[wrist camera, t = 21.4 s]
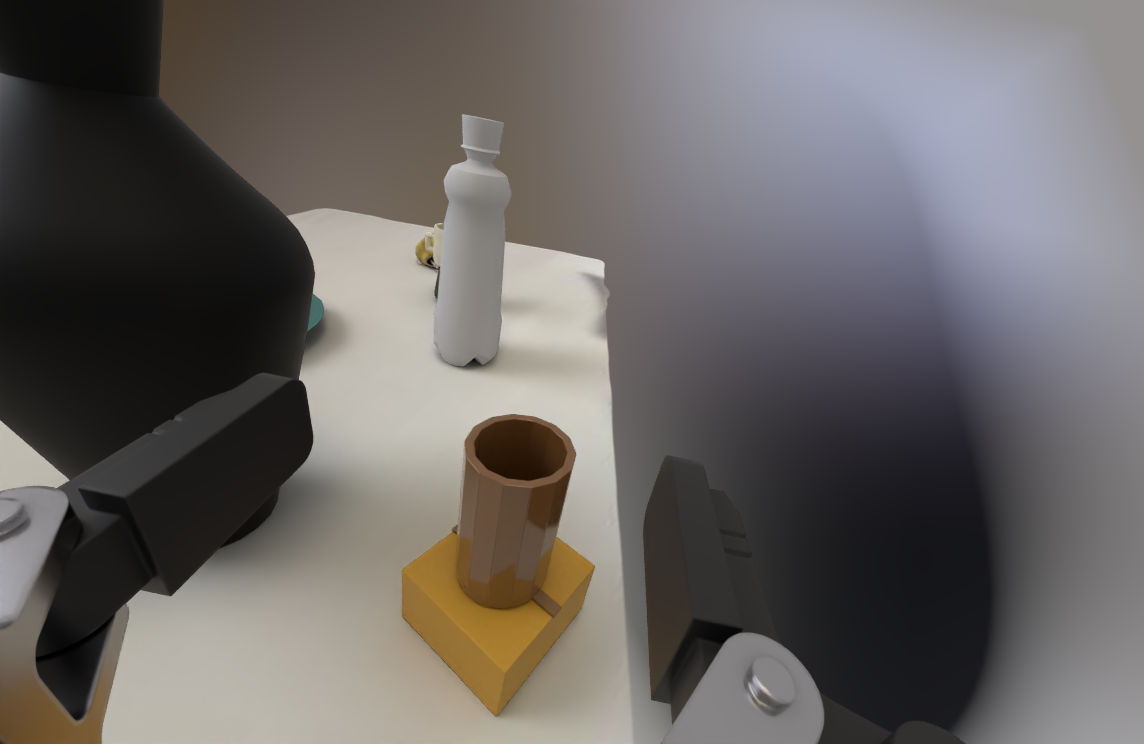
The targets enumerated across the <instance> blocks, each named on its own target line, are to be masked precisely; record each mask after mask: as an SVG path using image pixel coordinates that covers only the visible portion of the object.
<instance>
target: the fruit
mask: <svg viewBox="0 0 1144 744" xmlns="http://www.w3.org/2000/svg"><path fill="white" fill-rule="evenodd" d="M431 247H434V239H431ZM415 252H416V256H417V258H418V259H419V261H420V262H421V263H423V264H425V265H427V266H430V267H434V268H437V269H439V266H438V265H436V264H435V262H434V258H433V252H429V251H427V250H426V248H425V238H423V239H422V240H421V241H420V242H419V243H418V244H417V246H416V249H415Z"/></svg>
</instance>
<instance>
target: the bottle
mask: <svg viewBox="0 0 1144 744" xmlns="http://www.w3.org/2000/svg"><path fill="white" fill-rule="evenodd" d="M462 120H463V121H462V123H463V145H461V146H462V147H463V148H464V149H465V152H466V154H467V157H468V159H467V161H466V162H463V163H459V164H456V165H452V166H451V168H450V170H449V171H448V173H447V175H446V177H445V179H444V186H445V193H446V195H447V197H448V200H449V205H448V209H447V213H446V217H445V221H444V230H443V242H442V254H441V265H440V277H439V288H438V300H437V305H436V309H435V313H434V344H435V345H436V347H437V348H438V350H439V352H440V354H441V356H442V357H443V359H444V360H445V361H446V362H448V363H450V364H452V365H454V366H461V367H464V366H465V365H466V364H468V363H469V362H470V361H471V360H472V359H473V358H475V360H476V361H477V362H479V363H481V364H482V365H484V364H485V363H487V362H489V361H490V360H491V359H492V358H493V357H494V356H495V355H496V353H497V351H498V349H499V339H500V331H501V323H502V319H501V295H502V279H503V263H504V246H505V221H504V209H505V208H506V206H507V205H508V203H509V199H510V197H511V194H512V192H511V189H510V185H509V182H508V179H507V176H506V175H505V174H503V173H502V172H500V171H499V170H498V169H496V168H495V167H494V166H493V164H492V162H493V161H494V159H495V157H496V156H497V155H498V154H500V152H499V146H500V141H501V136H502V131H503V125H504V123H502V122H497V121H492V120H488V119H484V118H479V117H474V116H468V115H464V114H463V115H462Z"/></svg>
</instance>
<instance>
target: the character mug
mask: <svg viewBox="0 0 1144 744" xmlns="http://www.w3.org/2000/svg"><path fill="white" fill-rule="evenodd" d="M443 230H444V223H439V224H436V225H435V226H434V233H430V232H427V233H426V236H425V248H426V250H427V251H429V252H433V258H434V262H435V264H436V265H438V266H440V265H441V254H442V242H443ZM431 239H434V247H431ZM439 277H440V269H439V271H438V276H437V281H436V287H435V297H436V298H437V299H438V288H439Z"/></svg>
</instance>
